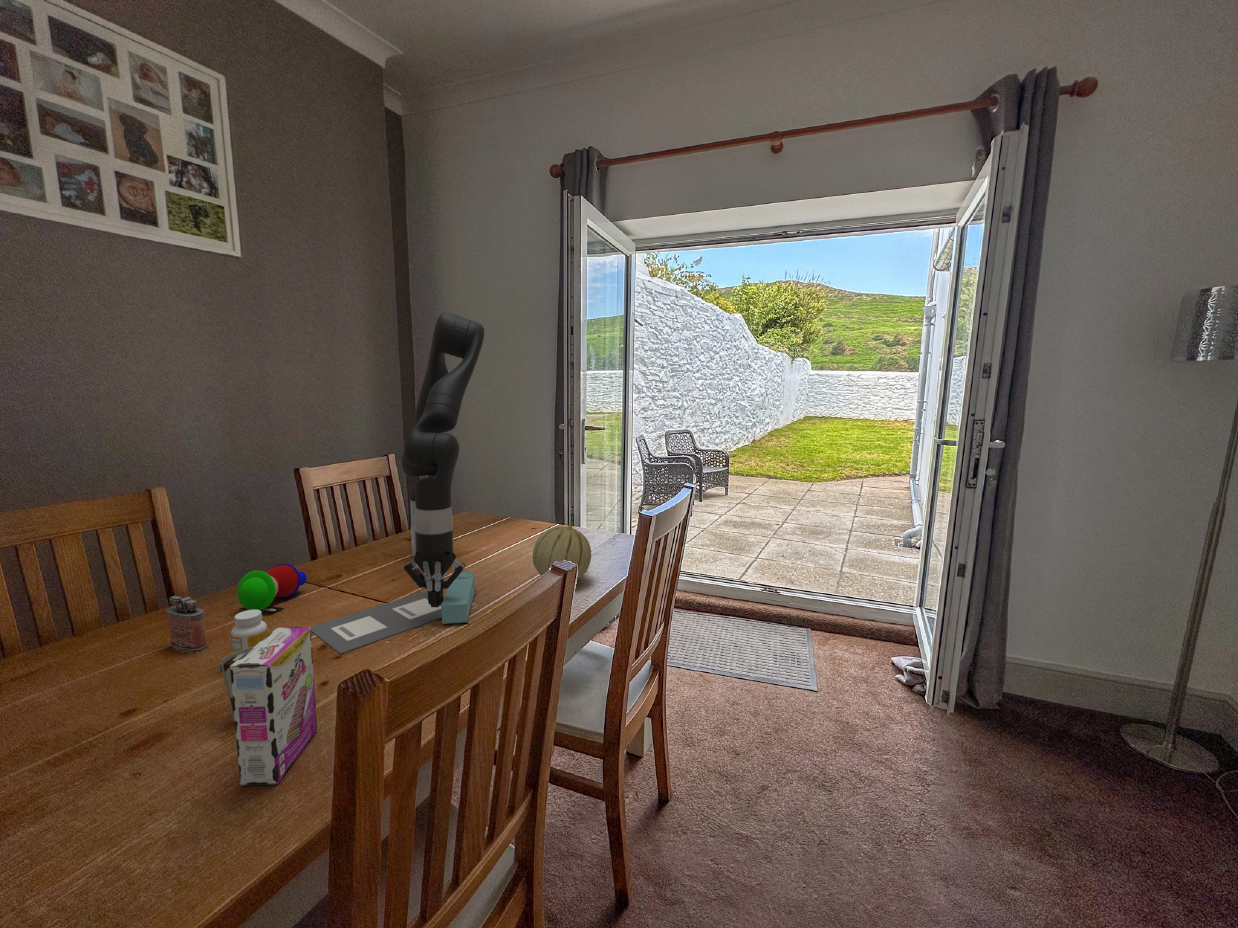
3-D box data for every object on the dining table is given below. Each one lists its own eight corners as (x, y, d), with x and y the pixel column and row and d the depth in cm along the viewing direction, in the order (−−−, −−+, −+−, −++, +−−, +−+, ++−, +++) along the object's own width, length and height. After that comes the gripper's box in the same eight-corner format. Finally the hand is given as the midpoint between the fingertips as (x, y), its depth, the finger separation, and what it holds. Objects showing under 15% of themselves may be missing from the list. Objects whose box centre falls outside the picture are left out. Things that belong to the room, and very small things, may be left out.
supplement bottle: (229, 674, 95) (224, 622, 93) (240, 659, 100) (235, 609, 98) (265, 669, 96) (260, 618, 95) (274, 655, 101) (269, 606, 100)
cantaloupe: (522, 588, 135) (520, 529, 133) (551, 569, 148) (550, 515, 146) (575, 597, 130) (575, 536, 127) (600, 577, 143) (600, 521, 141)
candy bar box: (280, 785, 69) (269, 665, 67) (239, 787, 69) (225, 666, 66) (320, 729, 80) (312, 624, 78) (285, 731, 80) (275, 625, 77)
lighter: (213, 647, 104) (207, 597, 103) (194, 655, 101) (188, 604, 100) (184, 640, 107) (178, 591, 105) (165, 648, 104) (159, 598, 102)
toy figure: (277, 601, 132) (227, 617, 117) (275, 562, 132) (224, 572, 117) (312, 599, 131) (266, 615, 116) (310, 560, 131) (263, 570, 116)
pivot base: (446, 594, 131) (446, 592, 131) (467, 587, 135) (467, 585, 135) (460, 600, 127) (460, 598, 127) (482, 593, 131) (482, 591, 131)
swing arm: (442, 623, 113) (441, 605, 113) (454, 587, 133) (454, 572, 132) (467, 622, 114) (466, 604, 114) (475, 586, 134) (475, 571, 133)
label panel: (307, 628, 112) (307, 627, 112) (431, 590, 133) (431, 589, 133) (340, 654, 102) (340, 652, 102) (469, 608, 123) (469, 607, 123)
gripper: (395, 531, 110) (398, 612, 113) (460, 533, 110) (461, 614, 113) (409, 521, 118) (411, 597, 120) (470, 523, 117) (471, 599, 120)
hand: (436, 605), depth 117 cm, fingers closed
